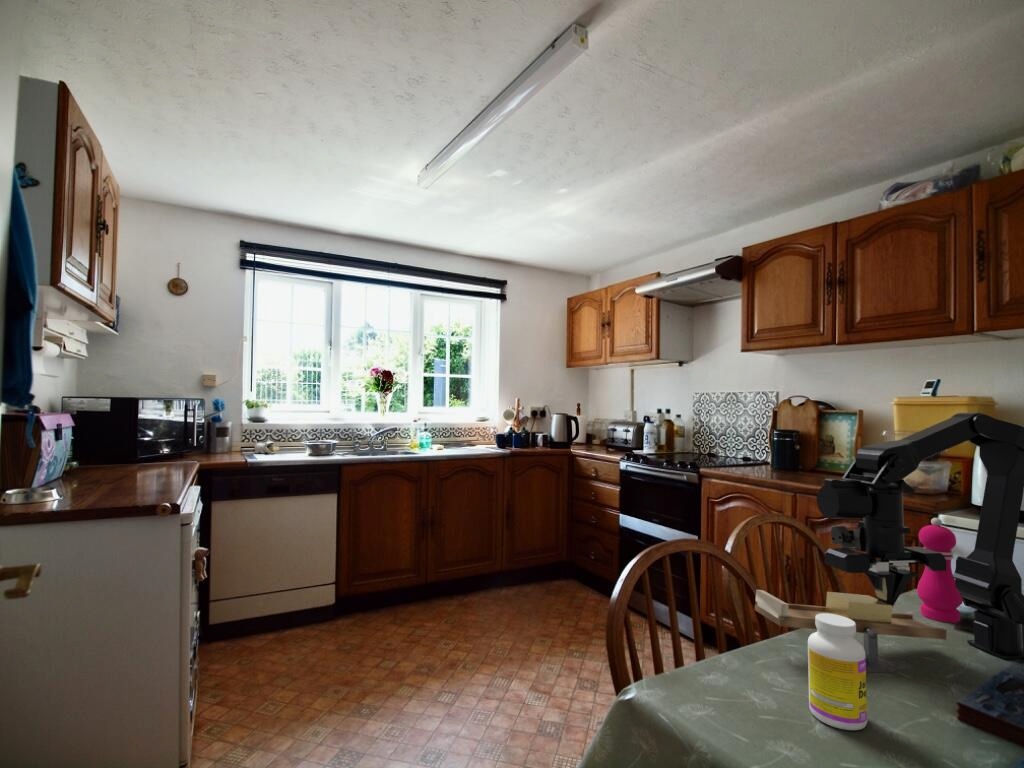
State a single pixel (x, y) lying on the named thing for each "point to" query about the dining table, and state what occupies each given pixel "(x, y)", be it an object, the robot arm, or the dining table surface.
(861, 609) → the brass rider
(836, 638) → the supplement bottle
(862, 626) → the balance beam
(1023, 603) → the robot arm
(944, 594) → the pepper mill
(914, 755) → the dining table surface
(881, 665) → the stand
